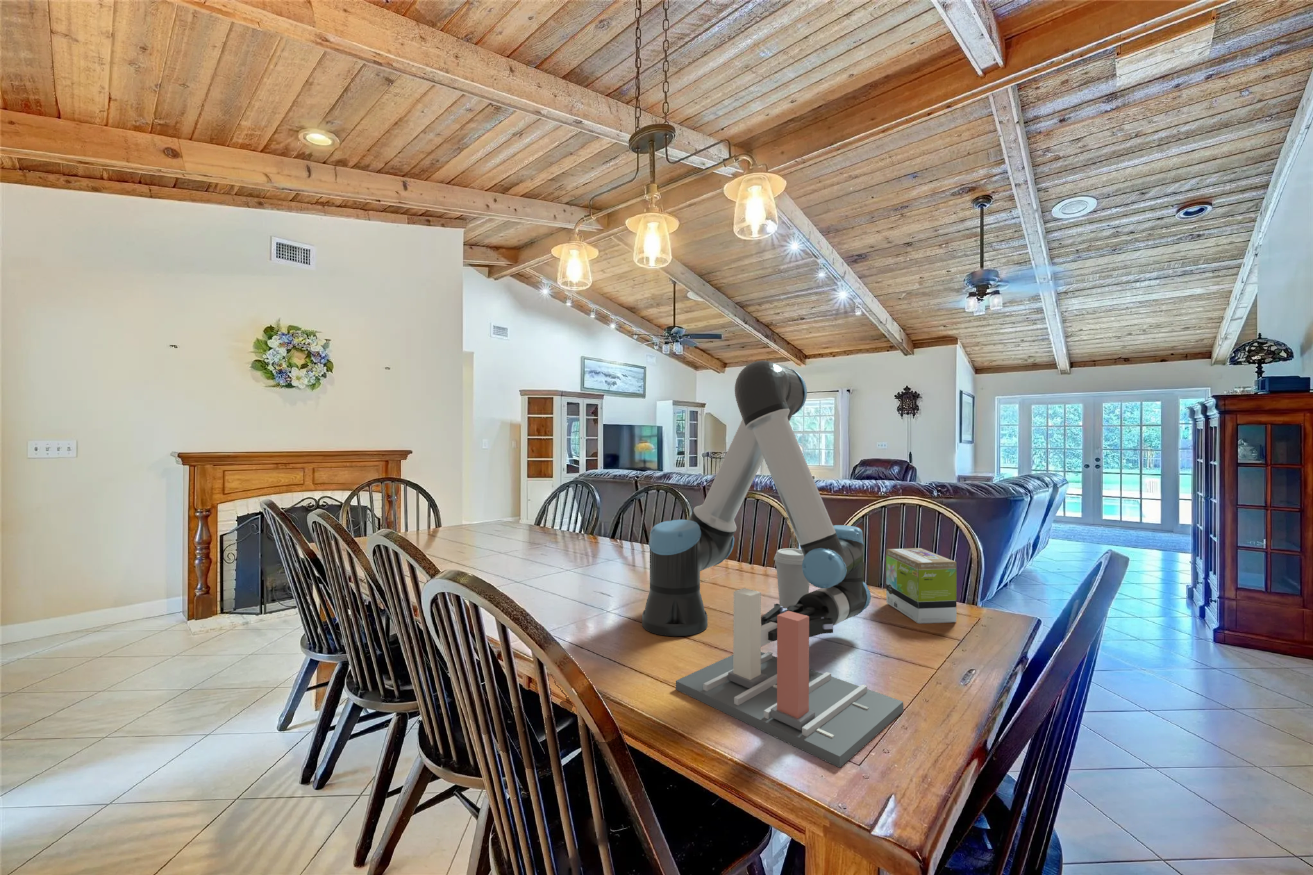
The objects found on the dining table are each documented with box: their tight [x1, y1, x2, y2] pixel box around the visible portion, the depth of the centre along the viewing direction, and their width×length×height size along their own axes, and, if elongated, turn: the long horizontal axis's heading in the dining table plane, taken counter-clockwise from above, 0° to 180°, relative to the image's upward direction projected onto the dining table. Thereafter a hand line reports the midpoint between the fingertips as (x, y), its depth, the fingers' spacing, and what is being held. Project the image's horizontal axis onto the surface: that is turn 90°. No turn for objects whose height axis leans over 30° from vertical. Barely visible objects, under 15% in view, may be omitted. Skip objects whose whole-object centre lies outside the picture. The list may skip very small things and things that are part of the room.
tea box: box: [885, 547, 958, 625], centre depth 132 cm, size 15×10×15 cm, turn 5°
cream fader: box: [728, 587, 766, 689], centre depth 91 cm, size 5×4×15 cm
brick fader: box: [771, 611, 815, 730], centre depth 79 cm, size 5×4×15 cm
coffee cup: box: [773, 548, 811, 608], centre depth 132 cm, size 10×10×15 cm
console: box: [675, 651, 904, 769], centre depth 88 cm, size 30×21×2 cm
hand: (753, 639), depth 92 cm, fingers closed
